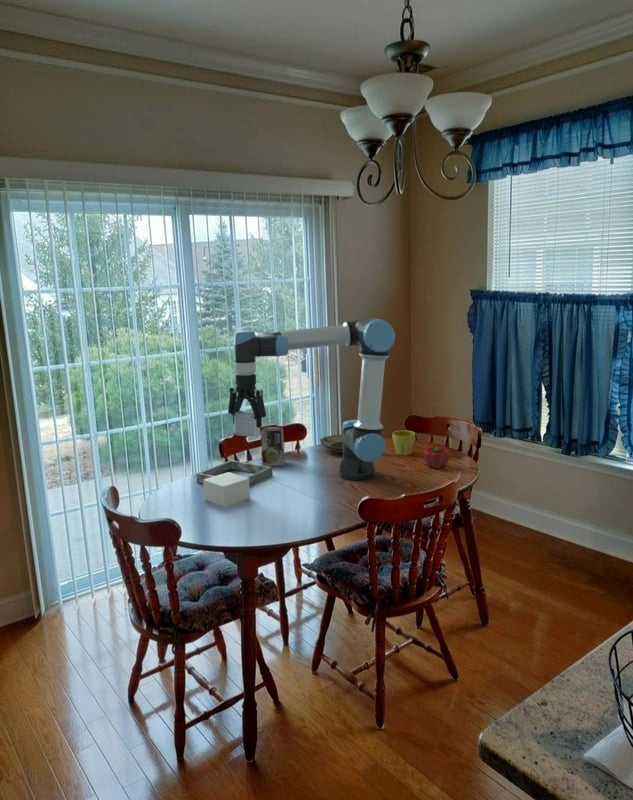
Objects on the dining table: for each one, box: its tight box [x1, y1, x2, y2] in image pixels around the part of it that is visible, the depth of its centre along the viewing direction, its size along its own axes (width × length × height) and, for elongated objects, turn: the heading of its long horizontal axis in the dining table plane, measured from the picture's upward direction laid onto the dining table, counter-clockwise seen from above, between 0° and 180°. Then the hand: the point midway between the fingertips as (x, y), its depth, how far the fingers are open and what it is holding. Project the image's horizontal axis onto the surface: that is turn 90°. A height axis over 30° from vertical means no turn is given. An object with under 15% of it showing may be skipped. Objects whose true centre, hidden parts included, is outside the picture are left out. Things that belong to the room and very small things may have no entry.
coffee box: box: [260, 426, 286, 467], centre depth 267 cm, size 9×6×16 cm
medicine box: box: [235, 410, 255, 437], centre depth 222 cm, size 8×4×9 cm, turn 71°
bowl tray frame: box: [196, 459, 273, 487], centre depth 249 cm, size 22×21×4 cm
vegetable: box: [423, 444, 450, 469], centre depth 255 cm, size 11×10×10 cm
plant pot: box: [391, 429, 416, 456], centre depth 277 cm, size 10×10×10 cm
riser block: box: [202, 471, 251, 508], centre depth 225 cm, size 12×12×8 cm
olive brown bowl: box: [319, 434, 343, 454], centre depth 283 cm, size 22×30×8 cm
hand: (247, 434), depth 223 cm, fingers closed on medicine box, 8 cm apart
